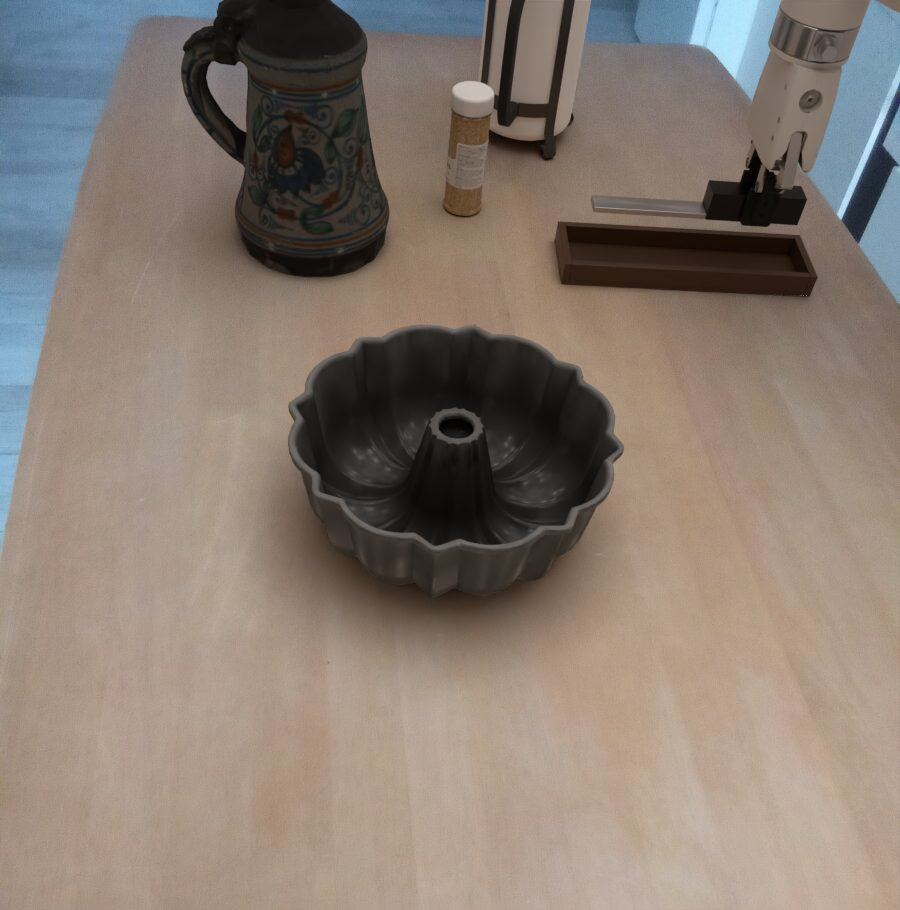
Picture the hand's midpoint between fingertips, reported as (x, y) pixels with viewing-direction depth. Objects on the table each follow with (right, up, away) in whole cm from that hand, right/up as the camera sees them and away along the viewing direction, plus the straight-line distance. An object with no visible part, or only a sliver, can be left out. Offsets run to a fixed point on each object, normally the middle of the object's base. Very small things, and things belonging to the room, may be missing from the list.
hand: (751, 214), depth 108 cm
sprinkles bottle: (-31, +4, +9) cm, 32 cm away
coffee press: (-23, +17, +20) cm, 35 cm away
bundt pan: (-32, -33, -21) cm, 51 cm away
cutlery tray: (-6, -4, +5) cm, 9 cm away
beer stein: (-48, -2, +3) cm, 49 cm away
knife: (-6, 0, 0) cm, 6 cm away
